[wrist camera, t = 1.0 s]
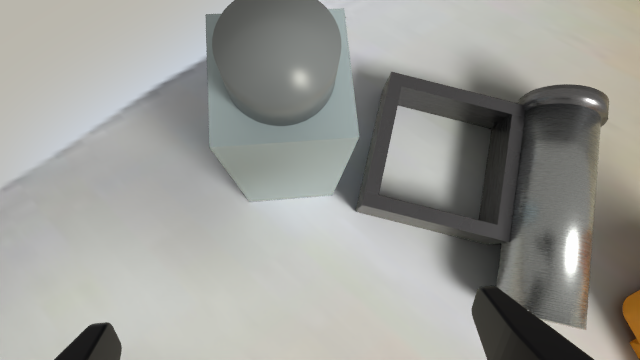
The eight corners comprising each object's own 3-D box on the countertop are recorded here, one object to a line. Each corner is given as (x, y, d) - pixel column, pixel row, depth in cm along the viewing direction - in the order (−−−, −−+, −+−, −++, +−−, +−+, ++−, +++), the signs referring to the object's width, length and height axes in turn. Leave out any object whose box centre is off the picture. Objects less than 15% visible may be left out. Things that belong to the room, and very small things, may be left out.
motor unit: (553, 323, 23) (618, 337, 18) (342, 270, 23) (353, 270, 18) (571, 128, 26) (630, 97, 21) (384, 81, 26) (403, 40, 21)
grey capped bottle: (332, 195, 24) (370, 114, 11) (249, 201, 24) (193, 125, 11) (324, 118, 25) (350, -32, 13) (245, 123, 25) (190, -26, 12)
